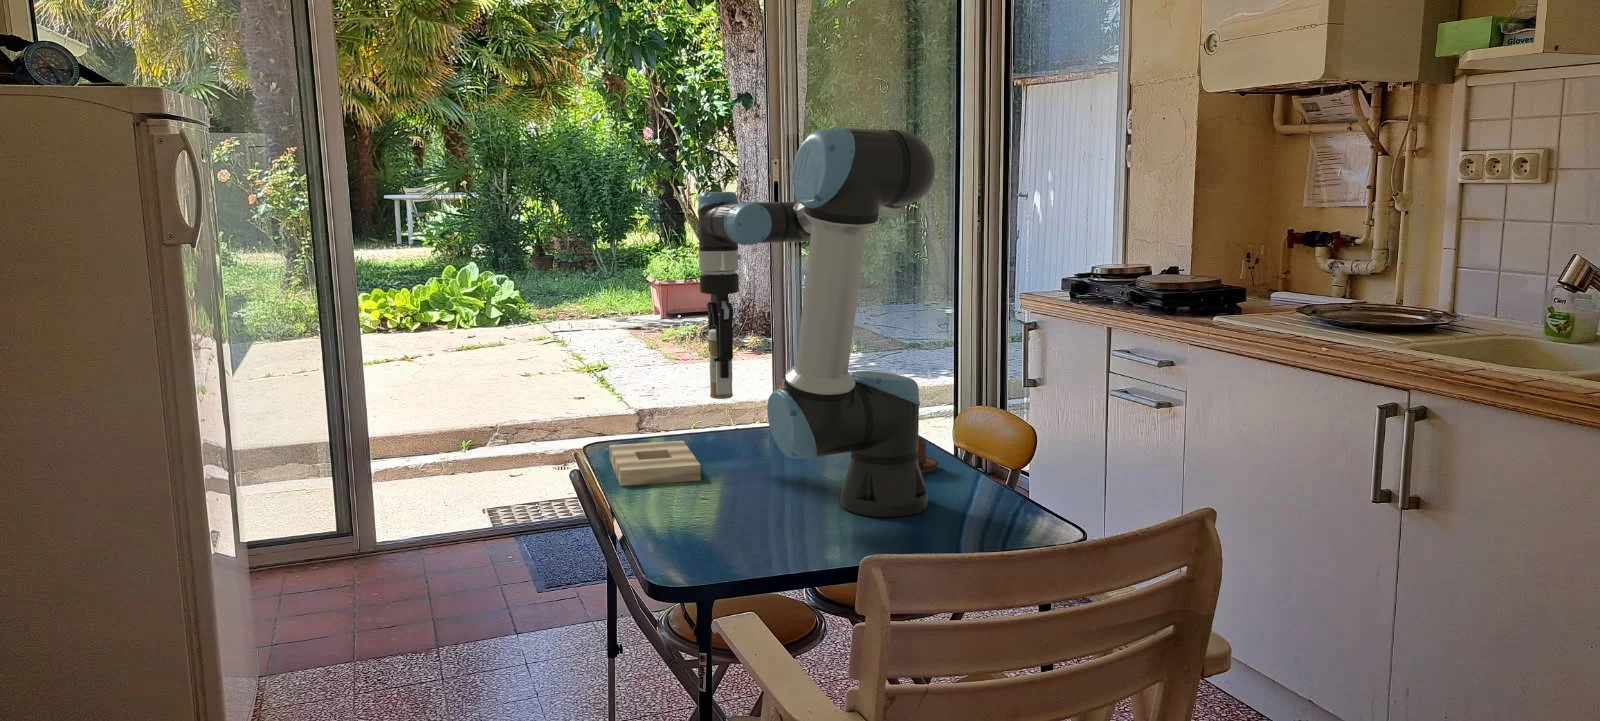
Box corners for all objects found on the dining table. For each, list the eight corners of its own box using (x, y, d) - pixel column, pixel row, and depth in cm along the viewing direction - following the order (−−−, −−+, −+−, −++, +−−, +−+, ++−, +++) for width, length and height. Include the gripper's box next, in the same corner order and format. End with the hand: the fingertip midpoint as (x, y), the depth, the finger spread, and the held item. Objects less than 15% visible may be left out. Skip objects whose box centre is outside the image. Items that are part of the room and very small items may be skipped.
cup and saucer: (935, 481, 208) (935, 449, 207) (871, 478, 211) (872, 446, 210) (940, 465, 220) (940, 435, 219) (880, 462, 222) (880, 432, 221)
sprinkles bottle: (722, 394, 220) (720, 327, 218) (737, 397, 217) (736, 329, 215) (704, 397, 217) (703, 329, 215) (720, 400, 214) (719, 331, 212)
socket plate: (700, 480, 209) (700, 464, 208) (620, 486, 205) (620, 470, 204) (683, 454, 228) (683, 440, 227) (609, 459, 224) (609, 445, 223)
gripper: (748, 275, 206) (749, 398, 210) (729, 268, 223) (731, 383, 226) (708, 276, 204) (710, 400, 208) (692, 269, 221) (694, 385, 224)
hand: (721, 391), depth 217 cm, fingers closed on sprinkles bottle, 4 cm apart
